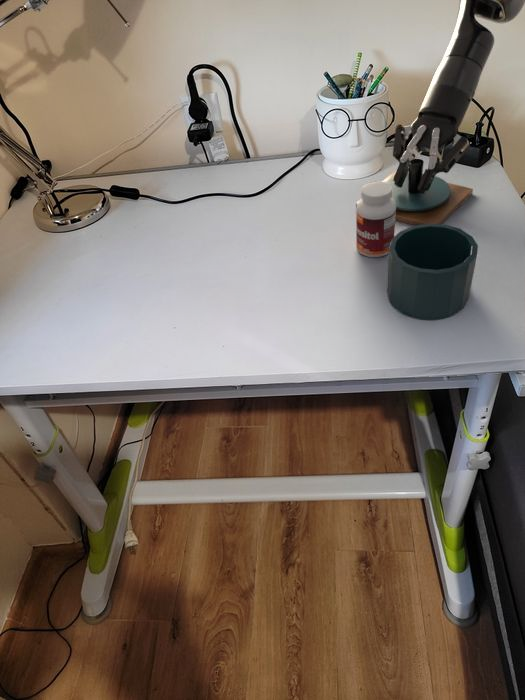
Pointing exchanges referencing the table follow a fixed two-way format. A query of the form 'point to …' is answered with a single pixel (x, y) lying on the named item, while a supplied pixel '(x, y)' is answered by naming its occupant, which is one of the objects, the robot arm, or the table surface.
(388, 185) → the pill bottle
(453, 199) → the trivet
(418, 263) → the pot
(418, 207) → the lid
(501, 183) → the table surface
